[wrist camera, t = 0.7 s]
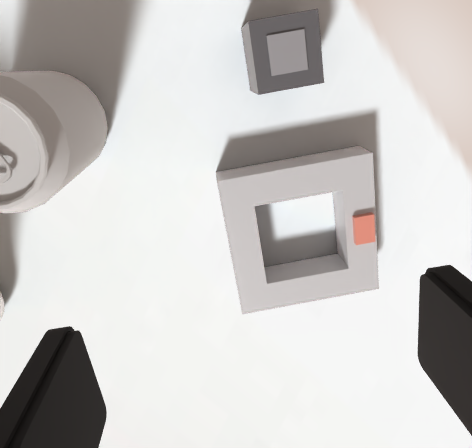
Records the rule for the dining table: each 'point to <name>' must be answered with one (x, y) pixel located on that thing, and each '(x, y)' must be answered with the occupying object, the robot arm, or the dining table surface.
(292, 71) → the plug
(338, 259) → the socket plate
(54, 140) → the can
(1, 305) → the plastic bottle
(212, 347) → the dining table surface
